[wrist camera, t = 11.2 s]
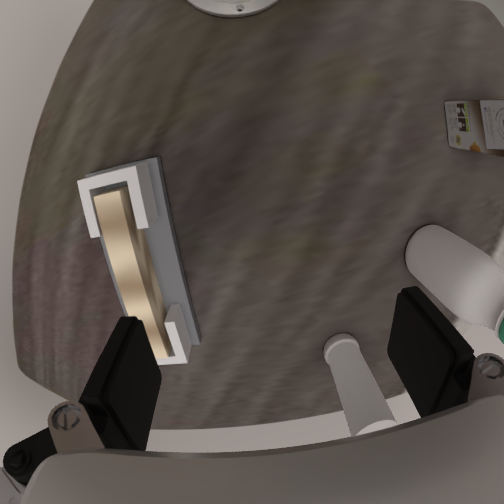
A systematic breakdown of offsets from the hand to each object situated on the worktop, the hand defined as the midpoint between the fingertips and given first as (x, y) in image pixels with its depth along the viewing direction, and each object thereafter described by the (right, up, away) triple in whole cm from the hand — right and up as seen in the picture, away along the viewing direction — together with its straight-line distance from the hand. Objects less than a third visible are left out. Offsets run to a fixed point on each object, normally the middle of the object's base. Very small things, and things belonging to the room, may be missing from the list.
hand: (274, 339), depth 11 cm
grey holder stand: (-14, +2, +26) cm, 29 cm away
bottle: (+12, -10, +32) cm, 36 cm away
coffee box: (+29, +20, +21) cm, 41 cm away
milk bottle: (+23, +3, +27) cm, 36 cm away
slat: (-14, +1, +25) cm, 28 cm away
